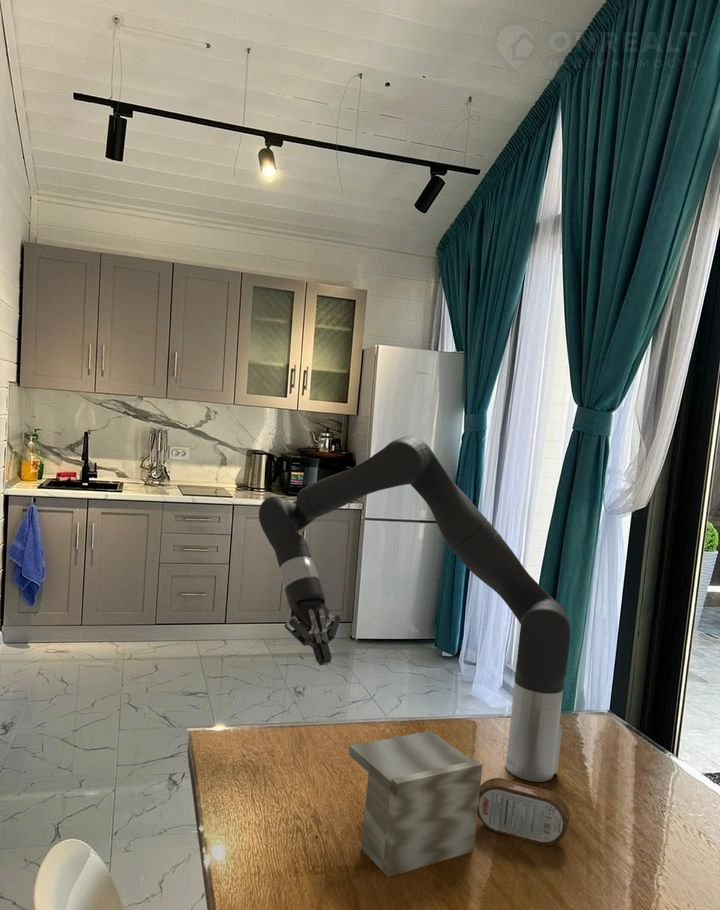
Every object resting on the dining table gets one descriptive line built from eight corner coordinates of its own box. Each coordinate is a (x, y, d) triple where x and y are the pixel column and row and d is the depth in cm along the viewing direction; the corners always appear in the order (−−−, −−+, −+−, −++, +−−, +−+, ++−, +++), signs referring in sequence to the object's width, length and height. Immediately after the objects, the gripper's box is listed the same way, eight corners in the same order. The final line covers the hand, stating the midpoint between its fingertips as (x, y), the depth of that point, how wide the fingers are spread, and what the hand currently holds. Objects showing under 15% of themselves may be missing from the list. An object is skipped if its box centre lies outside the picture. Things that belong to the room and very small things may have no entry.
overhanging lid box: (422, 807, 125) (430, 728, 124) (473, 851, 114) (482, 764, 113) (341, 827, 117) (350, 742, 116) (387, 877, 105) (397, 783, 104)
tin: (566, 843, 118) (572, 793, 118) (565, 854, 115) (571, 802, 115) (474, 819, 123) (479, 770, 123) (471, 828, 120) (476, 779, 120)
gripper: (284, 575, 144) (308, 659, 136) (336, 574, 153) (362, 653, 144) (265, 592, 149) (287, 674, 140) (317, 590, 157) (341, 667, 149)
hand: (325, 663), depth 142 cm, fingers closed
